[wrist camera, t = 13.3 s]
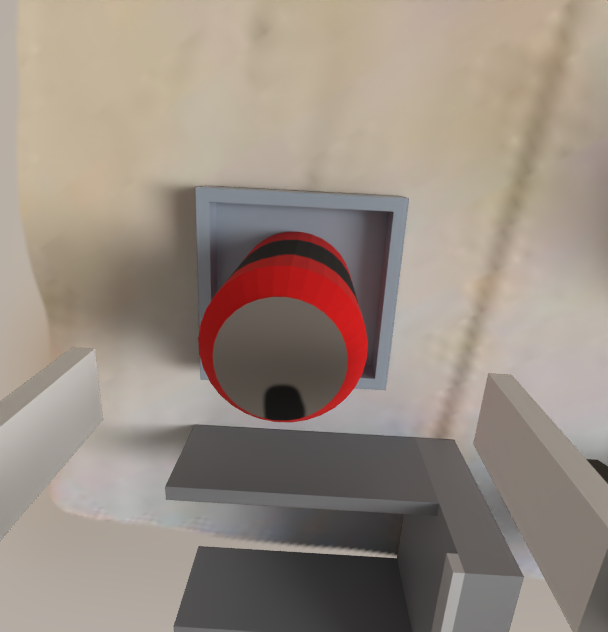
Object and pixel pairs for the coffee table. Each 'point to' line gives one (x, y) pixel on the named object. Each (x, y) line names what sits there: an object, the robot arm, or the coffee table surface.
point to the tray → (324, 222)
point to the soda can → (285, 331)
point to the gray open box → (343, 570)
